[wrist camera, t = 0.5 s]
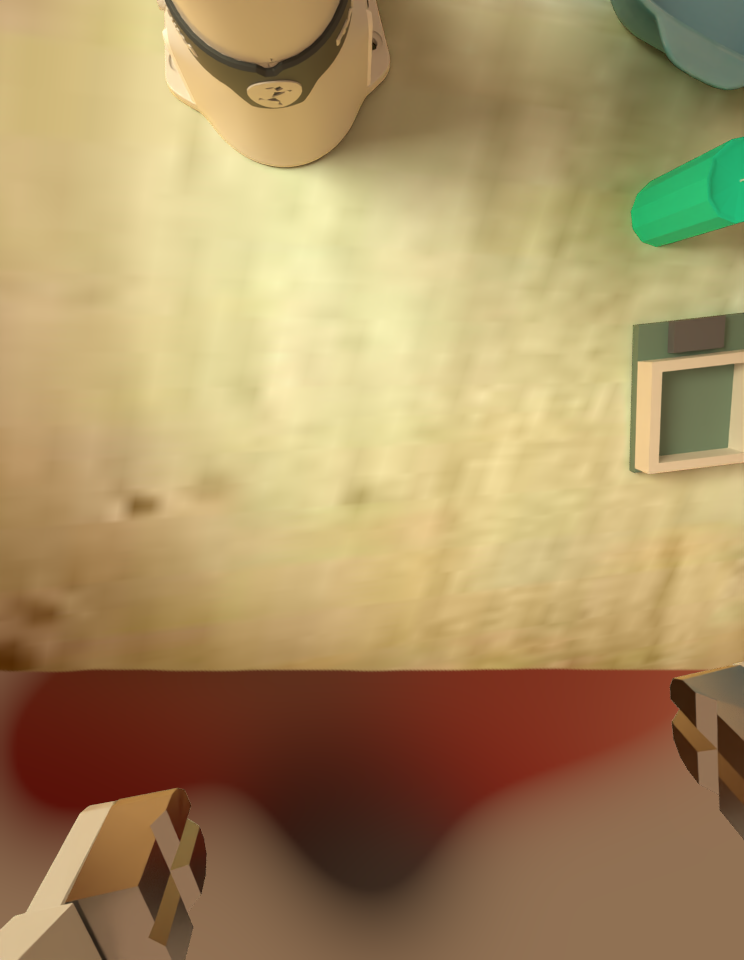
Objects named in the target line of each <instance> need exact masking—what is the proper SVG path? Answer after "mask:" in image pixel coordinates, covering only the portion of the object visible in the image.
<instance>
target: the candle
mask: <svg viewBox="0 0 744 960" xmlns="http://www.w3.org/2000/svg"><path fill="white" fill-rule="evenodd" d="M631 217H632V227H633V230H634V231H635V233H636V234H637V236H638V237H639V238H640V240H641V241H642V242H644V243H647V244H650V245H653V246H655V247H658V246H662V245H666V244H670V243H673V242H677V241H680V240H683V239H687V238H690V237H694V236H697V235H700V234H704V233H707V232H710V231H714V230H717V229H721V228H724V227H727V226H731V225H734V224H737V223H741V222H744V137H740V138H735V139H732V140H730V141H728V142H726V143H724V144H722V145H720V146H718V147H716V148H714V149H712V150H710V151H708V152H707V153H705V154H703V155H701V156H699V157H697V158H695V159H693V160H691V161H689V162H687V163H685V164H683V165H681V166H679V167H677V168H675V169H674V170H672V171H670V172H668V173H666V174H664V175H662V176H660V177H658V178H656V179H654V180H652V181H650V182H649V183H648V184H647V185H646V186H645V187H644V188H643V189H642V190H641V191H640V192H639V193H638V194H637V196H636V199H635V202H634V205H633V207H632V210H631Z"/></svg>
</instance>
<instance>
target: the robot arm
mask: <svg viewBox="0 0 744 960" xmlns="http://www.w3.org/2000/svg"><path fill="white" fill-rule="evenodd" d="M157 3H158V6H159V9H160V10H164V13H165V29H164V30H163V38H164V41H165V77H166V82H167V84H168V87H169V89H170V91H171V92H172V94H173V95H174V96H175V97H176V98H178V99H179V100H180V101H182V102H183V103H185V104H186V105H188V106H190V107H191V108H193V109H195V110H197V111H199V112H200V113H201V114H202V115H203V116H204V117H205V118H206V119H207V120H208V121H209V122H210V124H211V125H212V126H213V127H214V129H215V130H216V131H217V132H218V134H219V135H220V136H221V137H222V138H223V139H224V140H225V141H226V142H227V143H228V144H229V145H230V146H231V147H232V148H234V149H235V150H236V151H238V152H239V153H241V154H242V155H244V156H246V157H248V158H249V159H251V160H254V161H256V162H259V163H262V164H265V165H270V166H276V167H293V166H299V165H304V164H307V163H310V162H312V161H315V160H317V159H319V158H321V157H322V156H324V155H325V154H327V153H328V152H330V151H331V150H332V149H333V148H334V147H336V146H337V145H338V144H339V142H340V141H341V140H342V139H343V138H344V137H345V135H346V134H347V132H348V131H349V129H350V128H351V126H352V124H353V122H354V120H355V118H356V116H357V114H358V111H359V109H360V107H361V105H362V103H363V101H364V99H365V98H366V96H367V95H368V94H370V93H371V92H372V91H373V90H374V89H375V88H376V87H377V86H378V85H379V84H380V83H381V82H382V81H383V80H384V79H385V77H386V76H387V74H388V72H389V69H390V55H389V50H388V46H387V42H386V38H385V34H384V31H383V27H382V23H381V19H380V15H379V11H378V7H377V3H376V0H157ZM372 43H374V44H375V45H376V46H377V48H376V49H375V50H372ZM670 699H671V700H672V701H673V703H674V704H675V705H676V706H677V707H678V708H679V711H678V713H677V714H676V716H675V717H674V719H673V721H672V729H673V739H674V742H675V744H676V747H677V750H678V753H679V755H680V758H681V759H682V761H683V763H684V764H685V766H686V768H687V770H688V771H689V772H690V774H691V775H692V776H693V777H694V779H695V780H696V781H697V783H698V784H699V785H701V786H703V787H705V788H707V789H709V790H710V791H712V792H714V793H716V794H718V795H719V808H720V811H721V812H722V814H723V815H724V816H725V817H726V819H727V820H728V821H729V822H730V824H731V825H732V826H733V827H734V828H735V830H736V831H737V832H738V833H739V835H740V836H741V837H742V838H743V839H744V662H740V663H735V664H733V665H728V666H724V667H720V668H715V669H711V670H707V671H702V672H698V673H694V674H690V675H685V676H681V677H676V678H673V679H672V682H671V685H670ZM190 808H191V803H190V801H189V799H188V796H187V794H186V792H185V790H184V789H179V788H175V789H170V790H165V791H160V792H155V793H149V794H144V795H139V796H134V797H129V798H124V799H119V800H118V801H113V802H108V803H102V804H97V805H91V806H89V807H87V808H86V809H85V810H84V811H83V812H81V813H80V815H79V816H78V818H77V820H76V822H75V824H74V825H73V827H72V829H71V831H70V833H69V834H68V836H67V838H66V840H65V842H64V844H63V846H62V847H61V849H60V851H59V853H58V855H57V856H56V858H55V860H54V862H53V864H52V866H51V867H50V869H49V871H48V873H47V875H46V877H45V878H44V880H43V882H42V884H41V886H40V888H39V889H38V891H37V893H36V895H35V897H34V899H33V900H32V902H31V904H30V906H29V908H28V910H27V911H26V913H24V914H20V915H16V916H14V917H13V918H12V919H11V920H10V921H9V922H8V923H7V924H6V925H5V926H4V927H3V928H2V929H1V930H0V960H185V959H186V955H187V951H188V947H189V943H190V939H191V935H192V930H193V925H192V923H191V920H190V918H189V915H188V912H189V910H190V909H191V908H192V906H193V905H194V904H195V902H196V901H197V900H198V899H199V897H200V896H201V894H202V889H203V885H204V880H205V876H206V856H207V853H206V847H205V841H204V836H203V834H202V831H201V828H200V826H198V825H197V824H196V823H194V822H192V821H191V820H189V819H188V815H189V811H190Z"/></svg>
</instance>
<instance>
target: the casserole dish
mask: <svg viewBox="0 0 744 960" xmlns="http://www.w3.org/2000/svg"><path fill="white" fill-rule="evenodd" d="M611 3H612V6H613V9H614V11H615V13H616V15H617V17H618V18H619V20H620V21H621V22H622V24H623V25H624V26H625V27H626V28H627V29H628V30H629V31H630V32H631V33H632V34H634V35H635V36H636V37H638V38H639V39H641V40H642V41H644V42H646V43H648V44H649V45H651V46H653V47H655V48H657V49H658V50H660V51H662V52H664V53H665V54H666V56H667V57H668V59H669V60H670V61H671V62H672V64H673V65H675V66H676V67H677V68H678V69H680V70H682V71H683V72H685V73H687V74H688V75H690V76H692V77H693V78H695V79H697V80H699V81H701V82H703V83H705V84H707V85H710V86H712V87H714V88H718V89H722V90H734V89H738V88H741V87H744V0H611Z"/></svg>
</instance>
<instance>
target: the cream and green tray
mask: <svg viewBox="0 0 744 960" xmlns="http://www.w3.org/2000/svg"><path fill="white" fill-rule="evenodd" d="M735 463H744V313H737V314H728V315H719V316H710V317H701V318H692V319H684V320H675V321H666V322H657V323H648V324H639V325H633V352H632V392H631V432H630V471H632V472H634V473H637V472H645V473H647V474H654V473H662V472H670V471H678V470H686V469H694V468H703V467H711V466H719V465H727V464H735Z"/></svg>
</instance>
